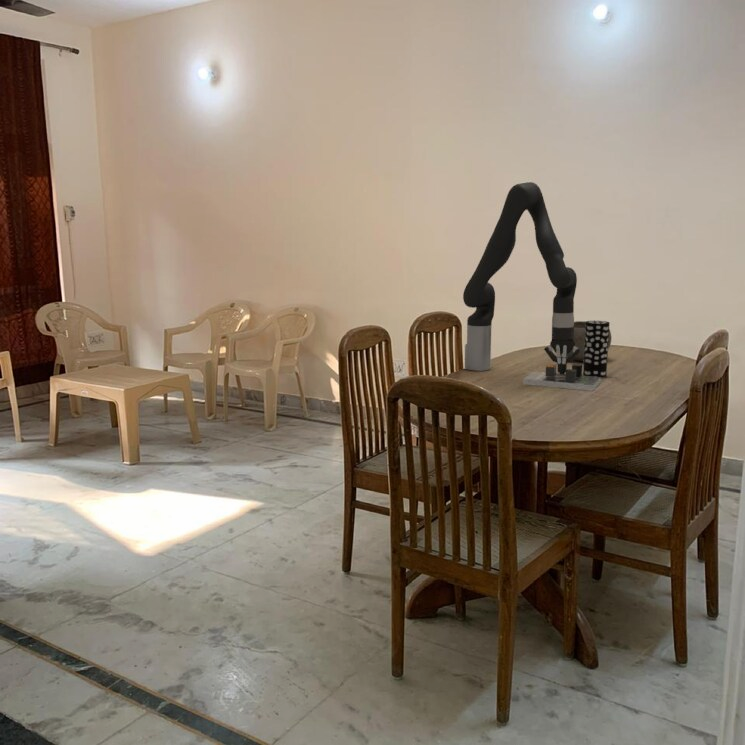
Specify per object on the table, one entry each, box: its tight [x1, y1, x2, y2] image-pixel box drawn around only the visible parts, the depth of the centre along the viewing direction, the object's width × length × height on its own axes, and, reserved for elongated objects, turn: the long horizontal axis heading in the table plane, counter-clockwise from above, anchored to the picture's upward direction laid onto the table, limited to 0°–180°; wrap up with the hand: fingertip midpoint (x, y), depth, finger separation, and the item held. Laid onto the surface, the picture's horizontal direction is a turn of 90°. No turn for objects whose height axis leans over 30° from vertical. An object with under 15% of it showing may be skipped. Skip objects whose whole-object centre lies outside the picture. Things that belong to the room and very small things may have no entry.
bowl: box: [567, 320, 612, 362], centre depth 313 cm, size 21×21×15 cm
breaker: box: [545, 363, 557, 377], centre depth 272 cm, size 3×3×4 cm
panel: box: [522, 363, 602, 392], centre depth 271 cm, size 24×14×6 cm, turn 64°
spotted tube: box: [582, 320, 610, 379], centre depth 282 cm, size 8×8×20 cm
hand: (562, 373), depth 271 cm, fingers closed
